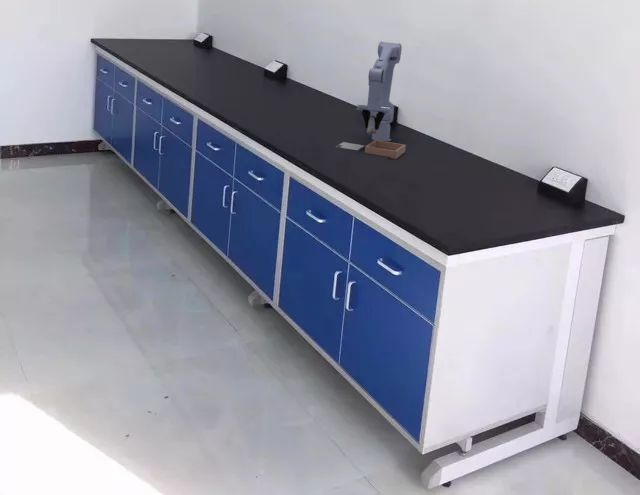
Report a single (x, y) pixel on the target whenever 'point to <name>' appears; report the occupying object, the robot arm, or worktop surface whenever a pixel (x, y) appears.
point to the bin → (385, 152)
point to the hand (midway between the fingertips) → (371, 128)
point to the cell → (371, 124)
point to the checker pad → (350, 146)
